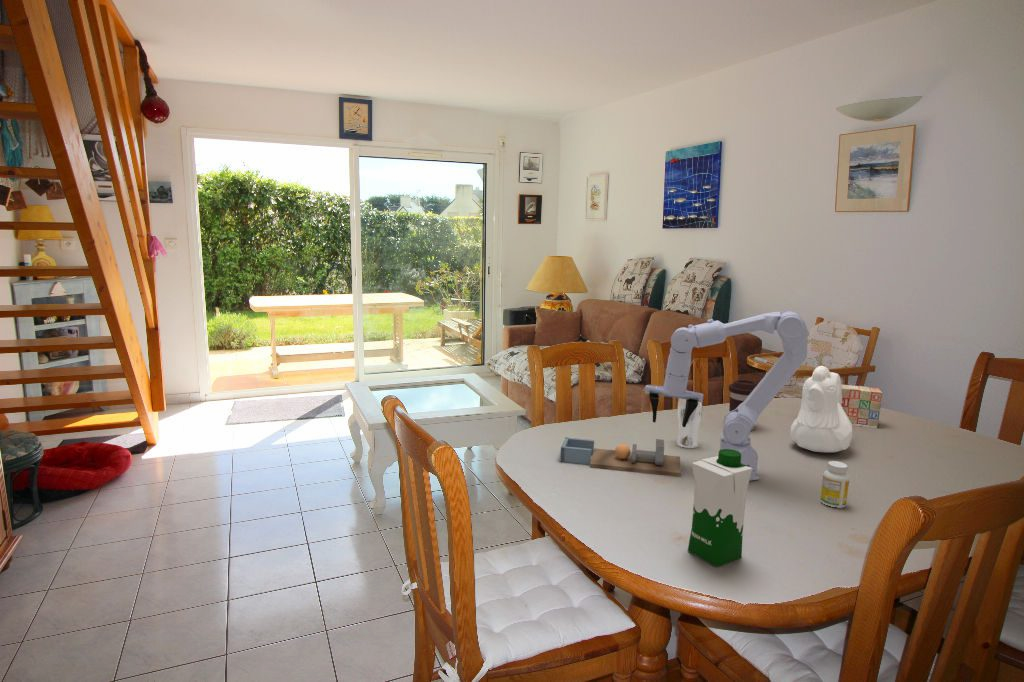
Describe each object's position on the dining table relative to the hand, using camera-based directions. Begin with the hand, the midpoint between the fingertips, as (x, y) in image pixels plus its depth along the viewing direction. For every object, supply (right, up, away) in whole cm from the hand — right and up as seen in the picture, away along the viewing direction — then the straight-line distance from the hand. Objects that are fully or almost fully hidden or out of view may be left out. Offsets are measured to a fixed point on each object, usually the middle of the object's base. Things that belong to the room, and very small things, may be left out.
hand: (668, 423), depth 162 cm
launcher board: (-8, -11, +2) cm, 14 cm away
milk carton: (-3, -19, -44) cm, 48 cm away
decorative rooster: (+50, -9, +18) cm, 54 cm away
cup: (-23, -10, +5) cm, 26 cm away
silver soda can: (+10, -9, +17) cm, 22 cm away
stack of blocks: (+68, -6, +43) cm, 80 cm away
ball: (-12, -8, +2) cm, 14 cm away
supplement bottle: (+32, -16, -21) cm, 41 cm away
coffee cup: (+32, -6, +34) cm, 47 cm away
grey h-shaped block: (-5, -10, +1) cm, 11 cm away
